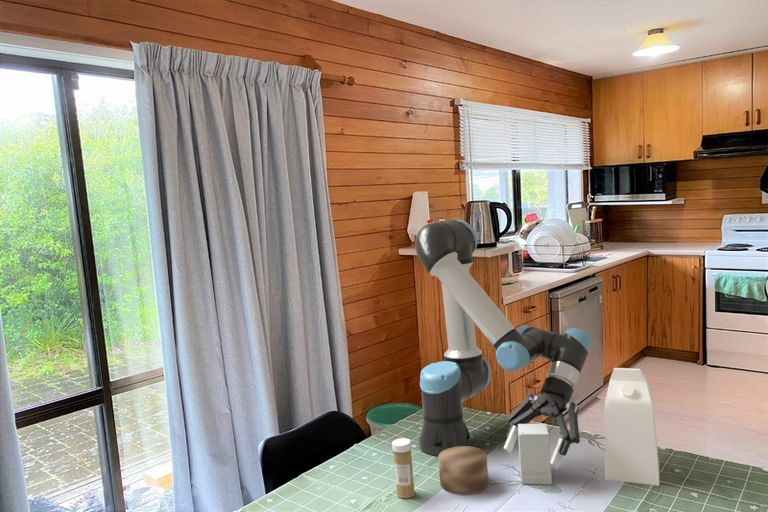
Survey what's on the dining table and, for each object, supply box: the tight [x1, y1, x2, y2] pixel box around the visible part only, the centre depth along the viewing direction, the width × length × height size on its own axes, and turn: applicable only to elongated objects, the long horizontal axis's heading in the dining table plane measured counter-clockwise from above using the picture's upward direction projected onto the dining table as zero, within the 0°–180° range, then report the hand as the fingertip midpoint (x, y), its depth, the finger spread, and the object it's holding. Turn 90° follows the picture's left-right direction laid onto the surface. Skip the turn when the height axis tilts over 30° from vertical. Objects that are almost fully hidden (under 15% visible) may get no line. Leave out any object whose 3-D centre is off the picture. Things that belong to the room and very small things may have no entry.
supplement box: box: [517, 423, 553, 485], centre depth 143 cm, size 7×7×13 cm
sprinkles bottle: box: [391, 438, 416, 499], centre depth 140 cm, size 5×5×13 cm
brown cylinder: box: [437, 446, 490, 496], centre depth 144 cm, size 12×12×7 cm
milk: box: [604, 367, 660, 487], centre depth 142 cm, size 12×12×26 cm
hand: (529, 458), depth 142 cm, fingers open, 13 cm apart
